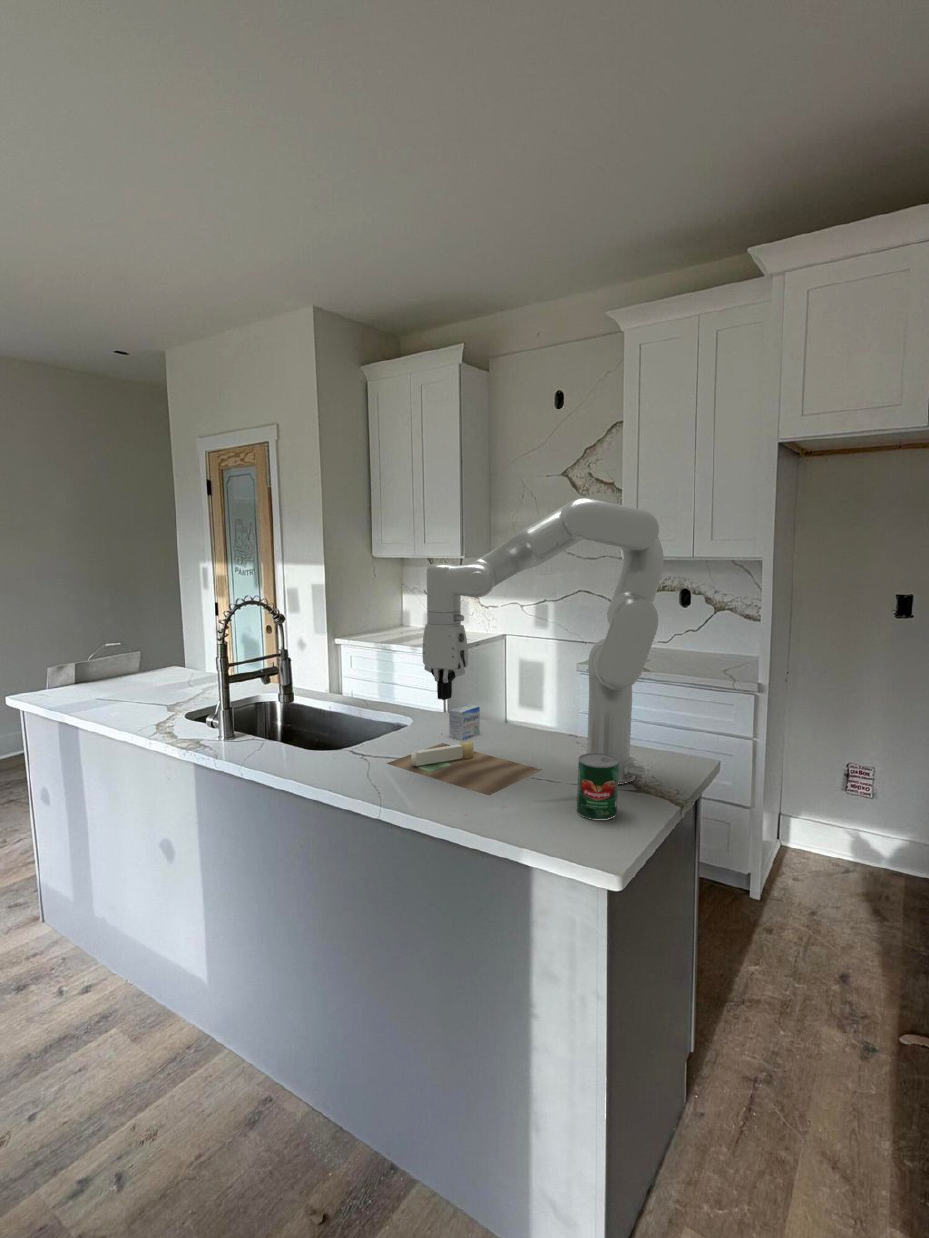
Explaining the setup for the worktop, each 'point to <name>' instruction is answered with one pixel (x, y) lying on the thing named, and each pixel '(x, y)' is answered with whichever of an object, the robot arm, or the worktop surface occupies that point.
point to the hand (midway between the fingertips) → (444, 698)
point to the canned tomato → (597, 785)
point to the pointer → (442, 754)
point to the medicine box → (464, 722)
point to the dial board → (472, 771)
